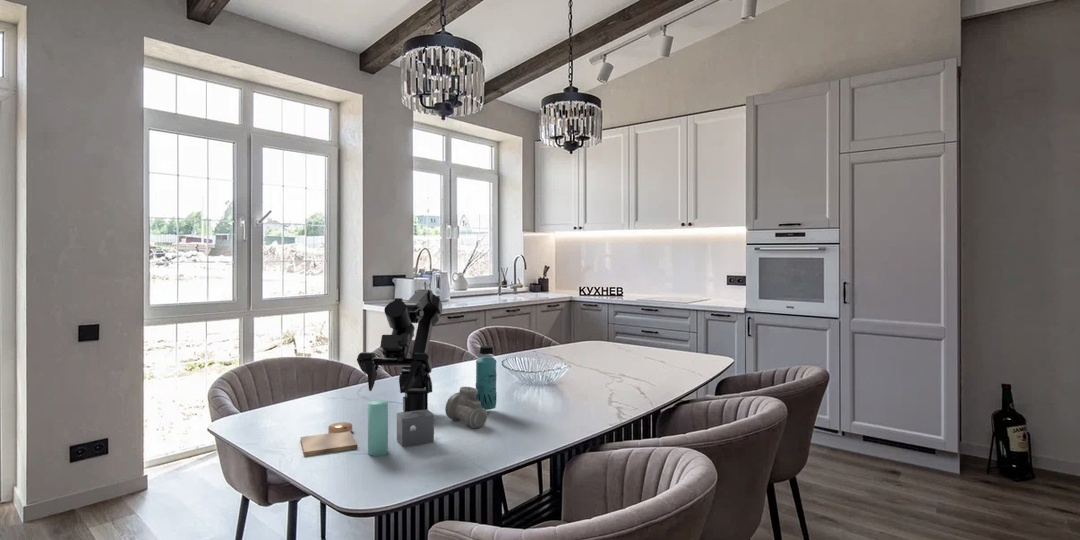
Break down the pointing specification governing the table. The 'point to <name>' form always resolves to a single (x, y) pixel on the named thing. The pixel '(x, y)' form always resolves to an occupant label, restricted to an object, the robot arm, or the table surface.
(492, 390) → the beverage bottle
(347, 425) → the copper dome
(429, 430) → the box
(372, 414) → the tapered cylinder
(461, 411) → the pipe fitting
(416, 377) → the robot arm
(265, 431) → the table surface
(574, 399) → the table surface
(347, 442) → the board
